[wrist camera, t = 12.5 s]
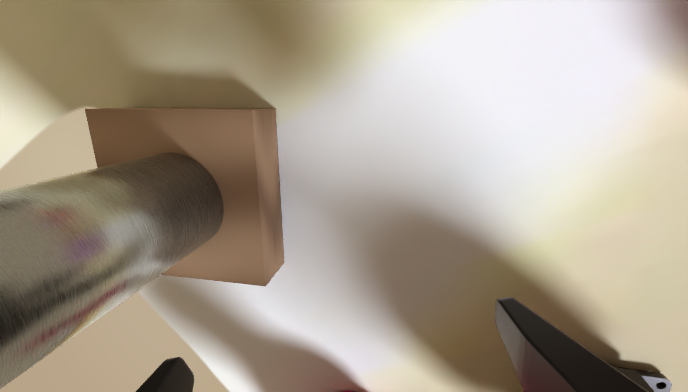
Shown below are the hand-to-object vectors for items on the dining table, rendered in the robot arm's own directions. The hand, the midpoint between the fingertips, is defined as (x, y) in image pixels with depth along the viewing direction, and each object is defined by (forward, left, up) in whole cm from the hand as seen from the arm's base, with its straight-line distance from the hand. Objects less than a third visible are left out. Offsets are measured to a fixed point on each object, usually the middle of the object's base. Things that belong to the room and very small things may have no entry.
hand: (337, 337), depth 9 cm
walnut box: (+1, +11, -11) cm, 16 cm away
